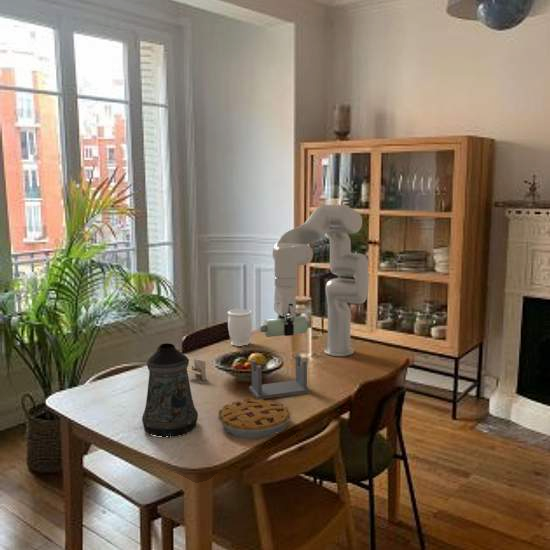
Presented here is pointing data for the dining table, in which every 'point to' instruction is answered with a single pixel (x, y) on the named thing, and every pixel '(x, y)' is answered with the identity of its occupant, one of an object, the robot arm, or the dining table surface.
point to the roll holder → (280, 387)
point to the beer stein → (169, 394)
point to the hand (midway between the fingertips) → (285, 332)
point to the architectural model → (199, 369)
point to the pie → (254, 418)
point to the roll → (277, 326)
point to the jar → (239, 326)
